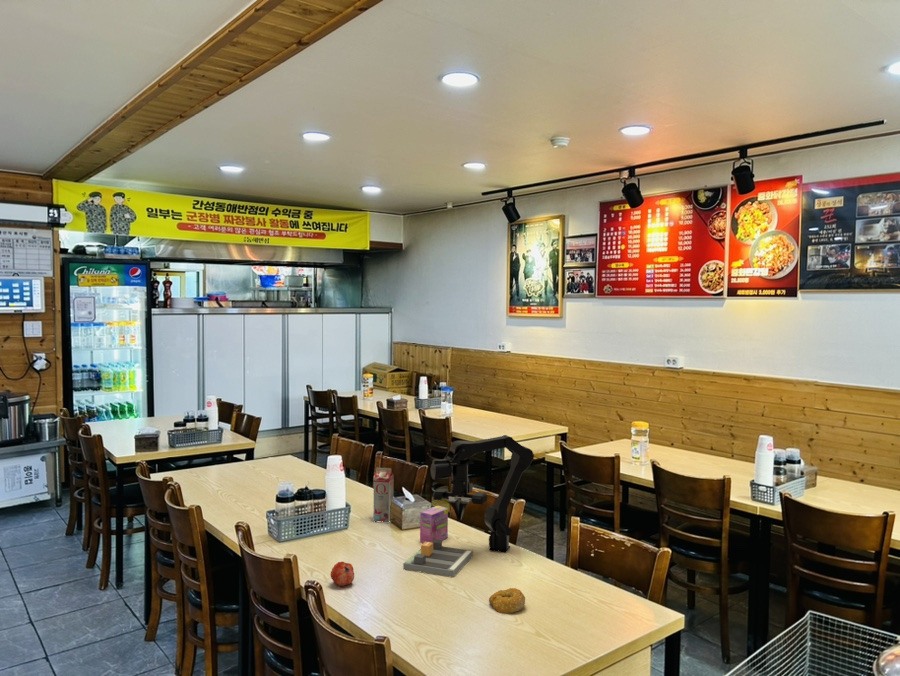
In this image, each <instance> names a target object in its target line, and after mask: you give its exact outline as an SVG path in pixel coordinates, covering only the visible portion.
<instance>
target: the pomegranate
mask: <svg viewBox="0 0 900 676" xmlns="http://www.w3.org/2000/svg"><path fill="white" fill-rule="evenodd" d="M330 578H331V579H332V581H333V584H334V585H335V586H339V587H345V586H347V585H350V584H352V583H353V581H354V580H355V572H354V567H353V565H352V564H351V563H349V562H345V561H339V562H337V563H336V564H334V566H333V567H332V569H331V571H330Z"/></svg>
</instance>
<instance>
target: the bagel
mask: <svg viewBox="0 0 900 676" xmlns="http://www.w3.org/2000/svg"><path fill="white" fill-rule="evenodd" d="M488 602H489V604H491V606H493V609H494V610H495V611H497V612H499V613H501V614H513V613H516V612H518V611H521V610H522V609H523V608H524V606H525V604H526V597H525V595H524V593H523V592H522V590H520V589H518V588H516V587H514V588H513V587H512V588H511V587H509V588H508V589H503V590H502V589H500V590H498V591H496V592H494V593H493V594H491V595H490V597H489V598H488Z"/></svg>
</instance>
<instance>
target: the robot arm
mask: <svg viewBox="0 0 900 676" xmlns="http://www.w3.org/2000/svg"><path fill="white" fill-rule="evenodd" d="M501 449H507V450H508V451H509V452H510V453H511V456H510V467H509V471H508V472H507V476H506V478H505V479H504V482H503V485H502V487H501V489H500V491H499V493H498V497H497V499H496V501H495V503H494V504H492V506H491V505H489V504H488V505H487V507H486V510H485V512H484V514H483V516H484V523H485V525H486V526H487V527H488V528H489V530H490V532H489V533H490V535H489V536H488V547H489V548H488V551H490V552H497V553H504V554H505V553H507V552H508V551H509V549H510V548H511V545H510V536H511V533H512V531H513V530H512V528H511V527H509V526H508V524H506V523H507V520H508V508H509V507H510V506H509V505H510V503H511V502H512V498H513V497H514V493H515V491H516V489H517V486H518V484H519V482H520V480H521V477H522V475H523V473H524V472H525V471H526V470H527V469H528V468H529V467H530V466H531V464H532V462H533V460H534V458H535V455H534V451H533V450H532V449H530V448H528V447H526V446H524V445H521V444H520V443H519V442H518V441H516V440H515V439H514V438H513V437H511V436H509V435H506V434H504V435H502V436H496V437H490V438H485V439H480V440H454V441H453V442H452V443H451V445H450V447H449V449H448V452H447V453H446V455H445V456H444V458H441V459H437V458H436V459H435V458H434V459H432V463H431V465H430V476H431V478H432V479H431V480H441V479H449V478H450V477H451V480H450V484H451V491H450V492H449V489H448V488H442V487H441V488H437V489H436V490H435V491H434V492H433V494H432V495H433V496H432V500H435V501H442V500H443V498H448V502H447V503H448V504H450V505H451V508H452V510H453V511H454V513H455V515H456V518H457V520H458V521H461V520H462V519H463V517H464V513H465V511H466V507H467V506H469V504H470V503H473V505H484V503H486V502H487V500H488V495H487V494H486V492H479V491H476V492H474V493H473V486H474V483H473V482H470V478H469V473H468V472H469V465H474V461H472V460H471V457H474V456H475V455H476V454H478V453H485V452H489V451H490V452H491V451H495V450H501ZM470 493H472V494H470Z"/></svg>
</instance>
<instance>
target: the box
mask: <svg viewBox="0 0 900 676" xmlns="http://www.w3.org/2000/svg"><path fill="white" fill-rule="evenodd" d="M419 515H420V516H419V518H420V519H419V523H420V525H419V543H421V544H423V543H424V542H432V541H433V540H434V539H435V540H442V541H443V540H446V539H448V538H449V537H448V536H449V535H448V533H449V530H448V529H449V528H448V527H449V523H448V522H449V520H448V519H449V508H448V507H444V506H441V505H435V506H432V507H430V508H428V509H425V510H421V511H420V512H419Z"/></svg>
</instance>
